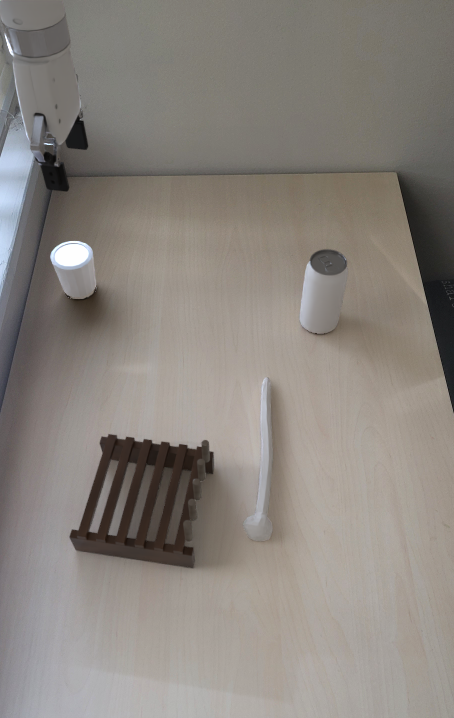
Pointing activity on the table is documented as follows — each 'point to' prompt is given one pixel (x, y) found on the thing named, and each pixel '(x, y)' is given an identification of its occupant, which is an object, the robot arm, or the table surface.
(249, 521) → the white spoon
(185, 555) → the rack
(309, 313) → the can
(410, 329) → the table surface
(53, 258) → the white cup
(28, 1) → the robot arm
